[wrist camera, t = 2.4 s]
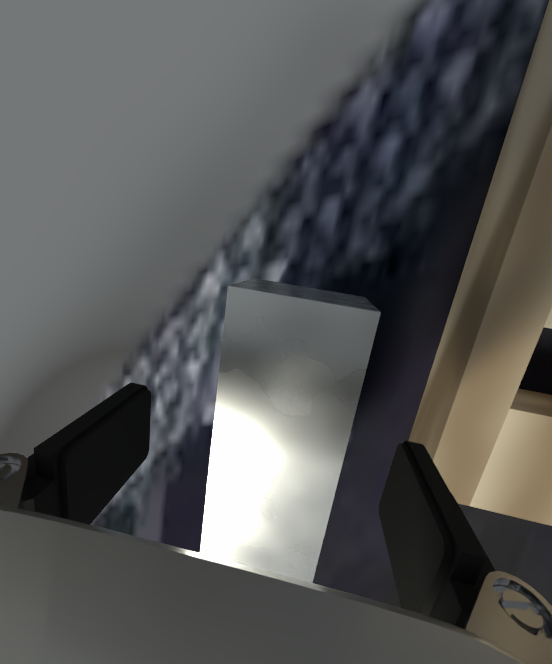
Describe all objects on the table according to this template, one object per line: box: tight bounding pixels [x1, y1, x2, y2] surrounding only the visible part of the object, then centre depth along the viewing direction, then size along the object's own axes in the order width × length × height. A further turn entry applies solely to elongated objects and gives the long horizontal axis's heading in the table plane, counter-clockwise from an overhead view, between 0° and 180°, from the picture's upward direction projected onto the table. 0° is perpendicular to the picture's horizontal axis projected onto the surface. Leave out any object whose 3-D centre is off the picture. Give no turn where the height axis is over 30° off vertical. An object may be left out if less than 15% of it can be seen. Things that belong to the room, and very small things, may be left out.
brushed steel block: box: [200, 278, 381, 583], centre depth 13 cm, size 4×12×8 cm, turn 171°
